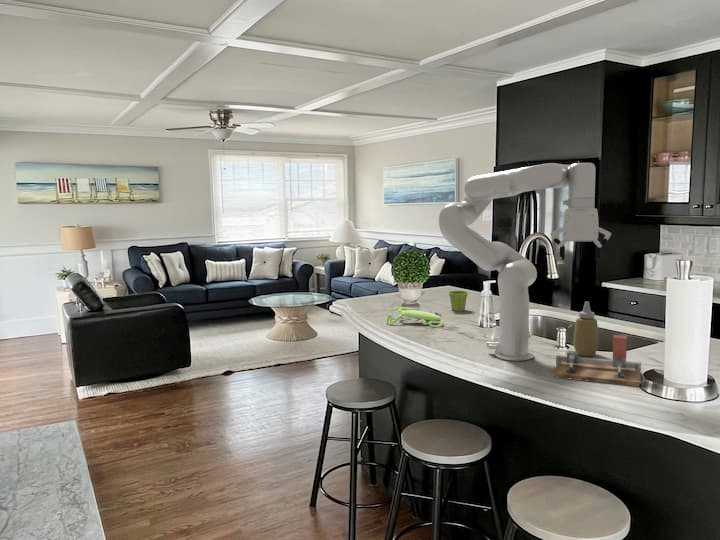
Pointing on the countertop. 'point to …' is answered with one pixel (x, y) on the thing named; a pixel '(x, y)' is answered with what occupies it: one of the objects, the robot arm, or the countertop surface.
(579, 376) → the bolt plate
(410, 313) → the figurine
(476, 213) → the robot arm
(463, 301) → the plant pot
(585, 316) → the squeeze bottle
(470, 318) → the countertop surface
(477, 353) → the countertop surface
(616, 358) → the sliding leg
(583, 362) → the trammel rail
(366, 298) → the countertop surface
